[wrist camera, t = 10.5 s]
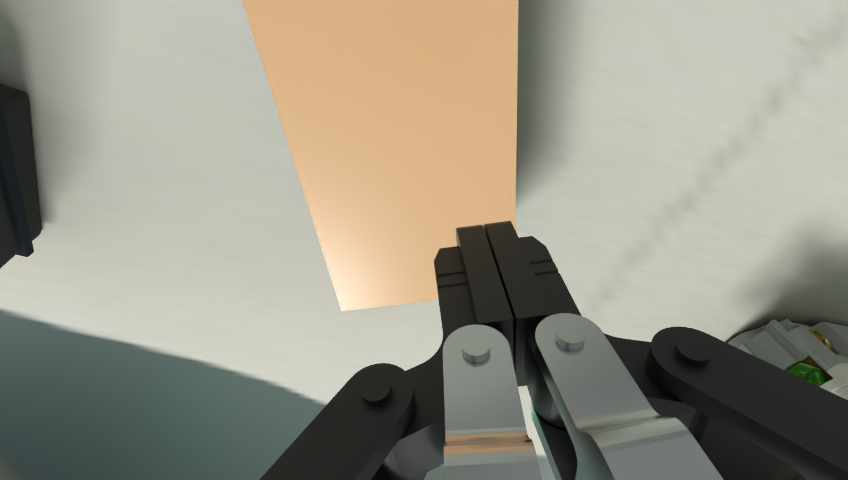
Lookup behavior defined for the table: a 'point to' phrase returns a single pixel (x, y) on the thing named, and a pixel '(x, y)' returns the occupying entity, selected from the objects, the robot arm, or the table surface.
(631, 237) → the table surface
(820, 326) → the electrical outlet
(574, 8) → the table surface
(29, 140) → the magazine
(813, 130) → the table surface
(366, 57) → the tan flat rectangular panel
